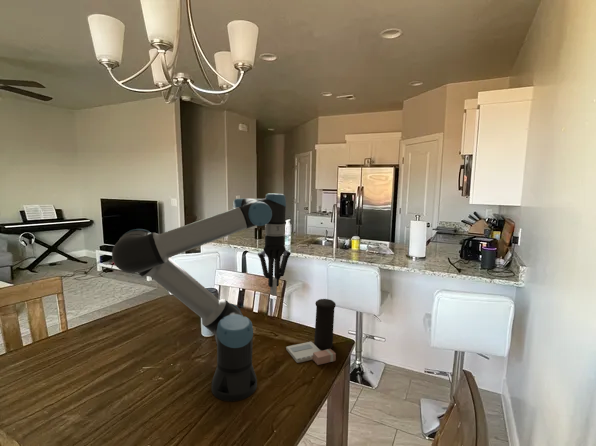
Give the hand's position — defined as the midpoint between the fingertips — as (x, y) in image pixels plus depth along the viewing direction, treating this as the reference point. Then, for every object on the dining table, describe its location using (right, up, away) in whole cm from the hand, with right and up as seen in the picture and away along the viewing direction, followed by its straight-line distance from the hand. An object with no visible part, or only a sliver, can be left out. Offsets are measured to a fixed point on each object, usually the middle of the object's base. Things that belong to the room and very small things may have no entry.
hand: (273, 294), depth 124 cm
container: (+21, -26, +15) cm, 36 cm away
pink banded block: (+20, -27, +3) cm, 34 cm away
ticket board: (+12, -26, +8) cm, 30 cm away
